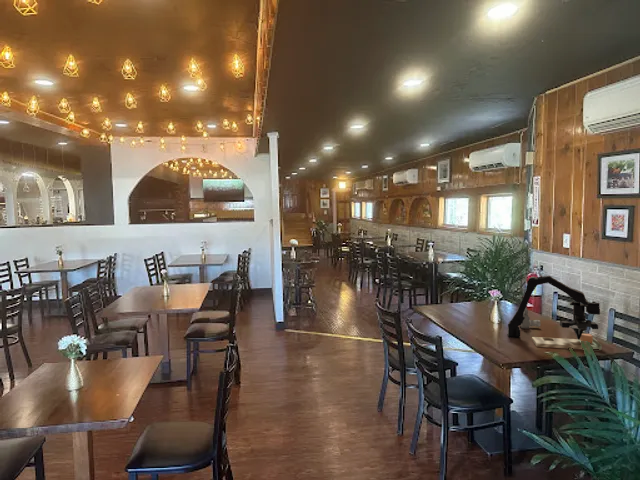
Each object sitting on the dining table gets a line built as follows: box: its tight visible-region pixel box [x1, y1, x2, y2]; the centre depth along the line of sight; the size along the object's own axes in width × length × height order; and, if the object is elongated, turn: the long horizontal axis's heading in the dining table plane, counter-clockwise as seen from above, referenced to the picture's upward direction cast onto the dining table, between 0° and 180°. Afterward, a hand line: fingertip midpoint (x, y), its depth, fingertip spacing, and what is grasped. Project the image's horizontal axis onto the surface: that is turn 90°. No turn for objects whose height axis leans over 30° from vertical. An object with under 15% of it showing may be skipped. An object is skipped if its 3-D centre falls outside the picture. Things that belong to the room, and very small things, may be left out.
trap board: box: [531, 336, 603, 351], centre depth 249 cm, size 33×13×4 cm, turn 74°
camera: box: [519, 306, 542, 329], centre depth 286 cm, size 9×12×15 cm
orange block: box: [579, 333, 594, 343], centre depth 249 cm, size 5×5×4 cm
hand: (578, 339), depth 250 cm, fingers closed
